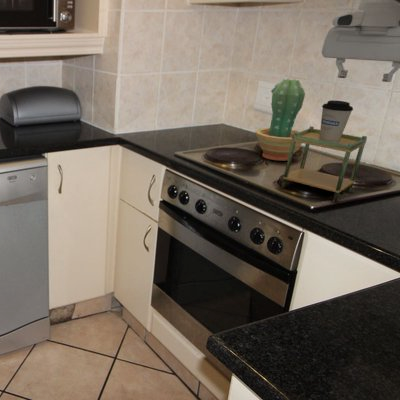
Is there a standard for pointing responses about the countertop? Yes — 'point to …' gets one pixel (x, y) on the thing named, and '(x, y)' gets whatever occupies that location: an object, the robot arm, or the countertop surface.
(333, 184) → the shelf rack
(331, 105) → the coffee cup
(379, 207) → the countertop surface
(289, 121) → the potted cactus
